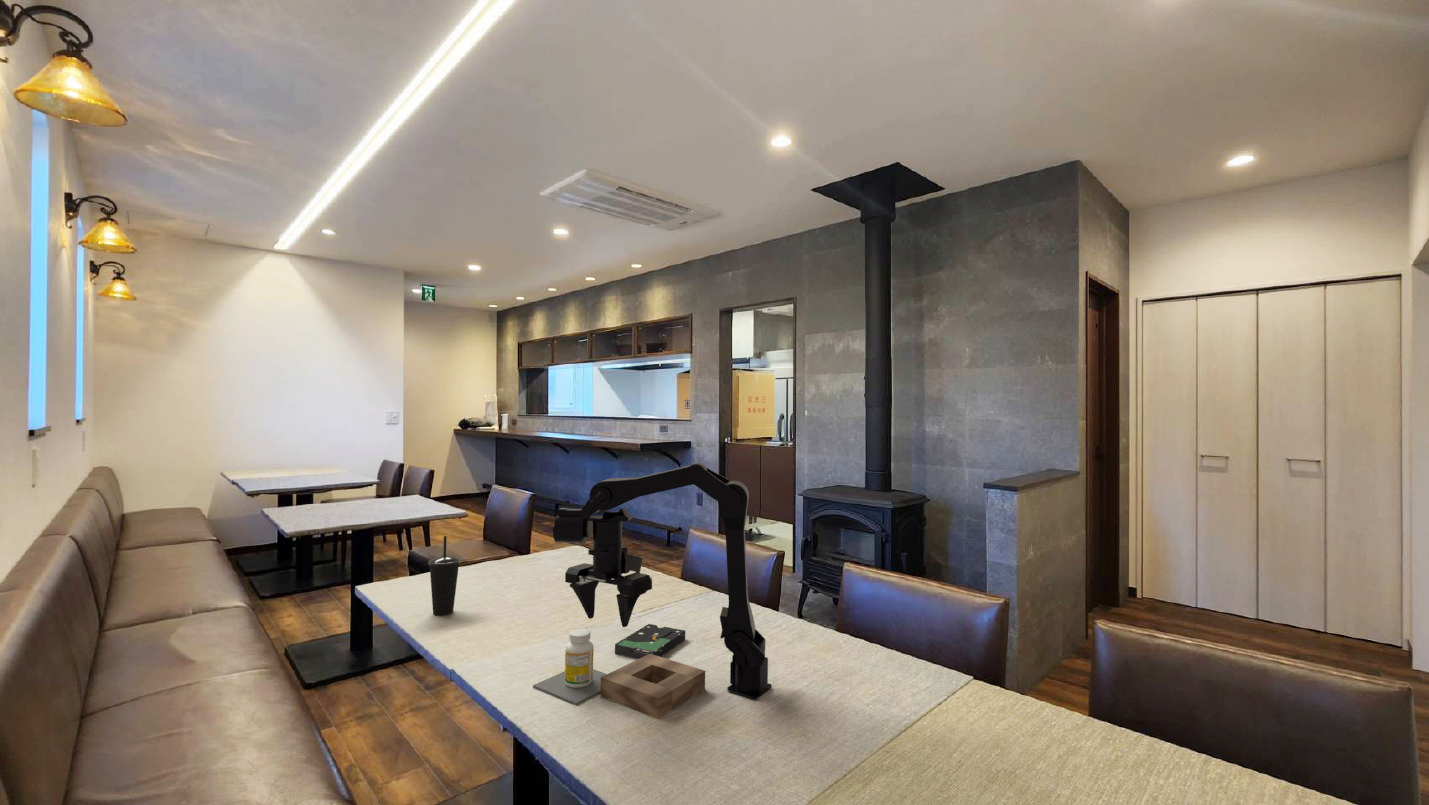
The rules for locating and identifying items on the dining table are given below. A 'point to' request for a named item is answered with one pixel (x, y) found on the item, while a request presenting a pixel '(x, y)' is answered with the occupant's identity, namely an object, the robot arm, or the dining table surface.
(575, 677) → the supplement bottle
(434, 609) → the drinking cup
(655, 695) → the socket block
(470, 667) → the dining table surface
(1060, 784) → the dining table surface
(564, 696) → the rubber mat
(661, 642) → the disk drive
